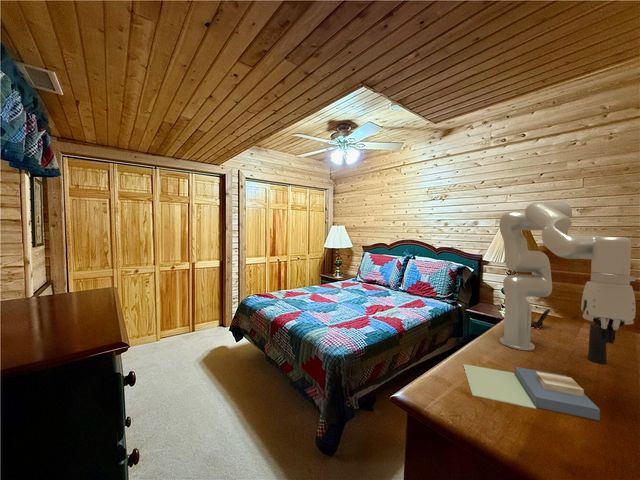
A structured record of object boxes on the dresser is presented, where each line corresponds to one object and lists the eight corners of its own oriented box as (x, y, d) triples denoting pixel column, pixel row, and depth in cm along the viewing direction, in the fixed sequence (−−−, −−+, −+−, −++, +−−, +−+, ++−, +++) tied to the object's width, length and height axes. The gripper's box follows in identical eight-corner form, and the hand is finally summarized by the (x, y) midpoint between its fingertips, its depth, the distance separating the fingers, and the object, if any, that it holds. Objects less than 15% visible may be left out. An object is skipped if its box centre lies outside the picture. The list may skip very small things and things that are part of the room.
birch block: (535, 377, 86) (535, 371, 86) (570, 383, 82) (571, 377, 82) (545, 389, 79) (545, 383, 79) (583, 396, 76) (583, 390, 76)
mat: (462, 364, 99) (462, 364, 99) (513, 373, 93) (513, 372, 93) (472, 395, 81) (472, 394, 81) (536, 409, 75) (536, 408, 75)
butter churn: (571, 356, 107) (574, 288, 106) (586, 353, 110) (589, 287, 109) (600, 367, 98) (604, 293, 97) (616, 363, 101) (620, 292, 100)
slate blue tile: (515, 375, 92) (515, 366, 92) (565, 384, 87) (565, 375, 87) (535, 407, 76) (536, 397, 75) (599, 420, 71) (600, 409, 70)
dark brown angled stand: (522, 321, 149) (523, 303, 149) (550, 327, 139) (550, 309, 139) (516, 324, 143) (517, 306, 143) (545, 331, 134) (546, 312, 133)
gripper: (634, 279, 76) (631, 340, 77) (569, 275, 82) (566, 332, 83) (656, 283, 69) (652, 351, 70) (583, 279, 75) (580, 342, 76)
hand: (606, 341), depth 76 cm, fingers closed
